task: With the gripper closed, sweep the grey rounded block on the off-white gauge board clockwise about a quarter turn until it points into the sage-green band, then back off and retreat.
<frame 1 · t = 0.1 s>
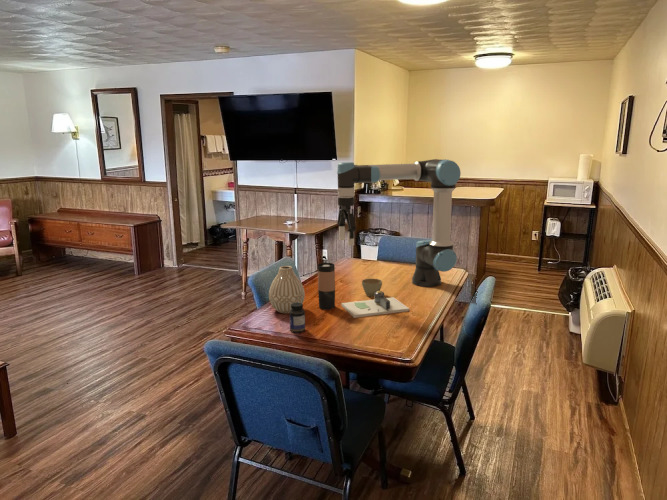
hand: (346, 242, 224), 28 cm above the table, fingers open, 13 cm apart
travel mug: (326, 307, 220), on the table
flower pot: (372, 295, 237), on the table
gauge board: (374, 308, 218), on the table
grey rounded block: (382, 299, 216), point 5 cm above the table, hinge at 90.0°
pill bottle: (297, 330, 193), on the table
vase: (287, 310, 217), on the table
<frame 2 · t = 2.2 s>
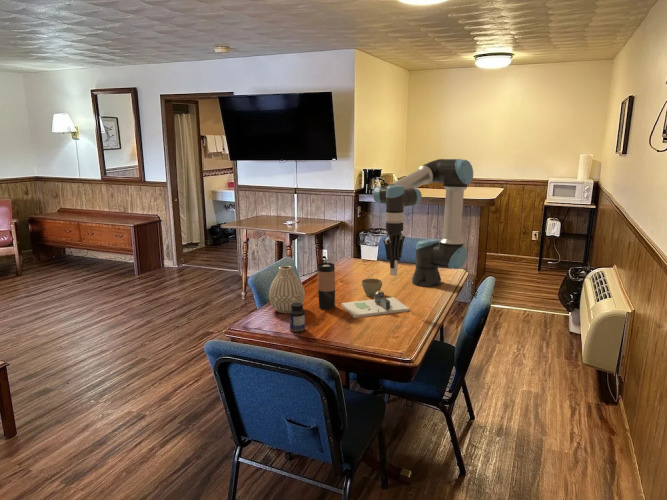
hand: (393, 274, 212), 16 cm above the table, fingers closed
nothing on the table moved.
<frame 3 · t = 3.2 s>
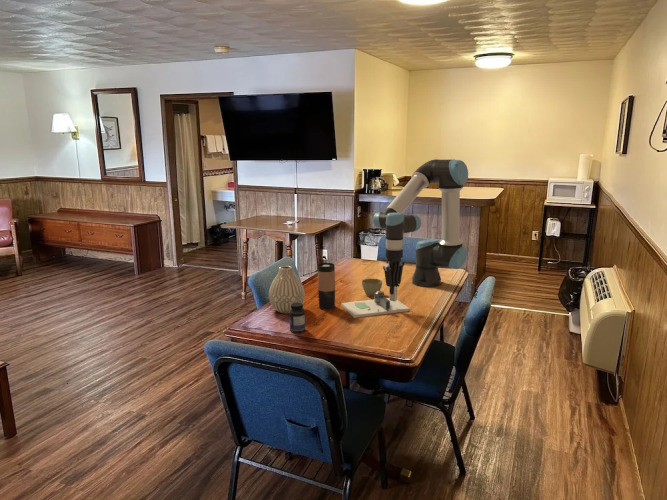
hand: (393, 300, 214), 4 cm above the table, fingers closed
nothing on the table moved.
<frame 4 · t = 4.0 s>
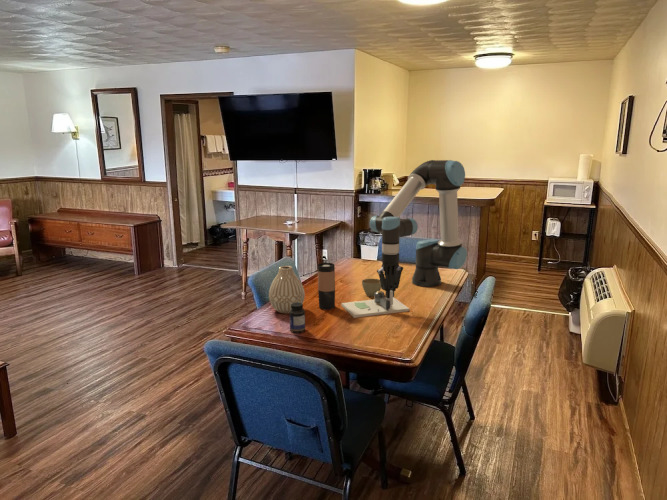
hand: (389, 304, 214), 3 cm above the table, fingers closed
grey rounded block: (382, 299, 216), point 5 cm above the table, hinge at 90.0°, touching gripper
everything else where it was.
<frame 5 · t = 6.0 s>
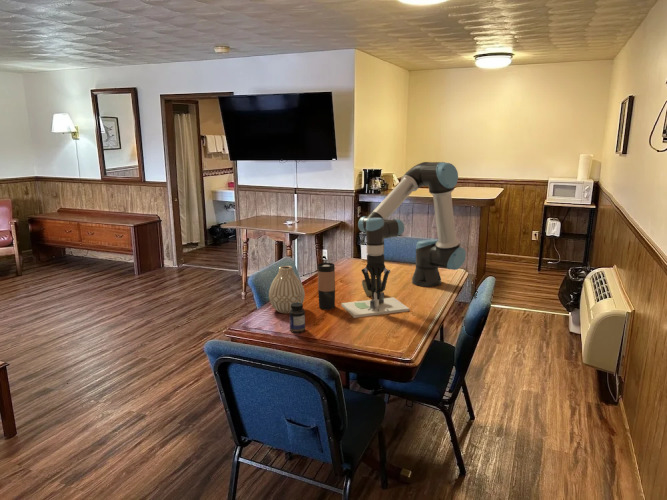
hand: (376, 306, 213), 3 cm above the table, fingers closed
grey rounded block: (376, 299, 216), point 5 cm above the table, hinge at 49.4°, touching gripper
everything else where it was.
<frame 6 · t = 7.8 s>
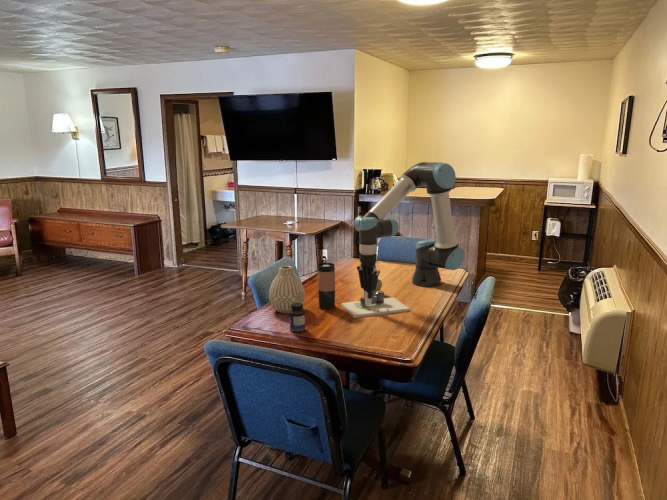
hand: (368, 304, 214), 3 cm above the table, fingers closed
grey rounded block: (372, 298, 218), point 5 cm above the table, hinge at 16.6°
everything else where it was.
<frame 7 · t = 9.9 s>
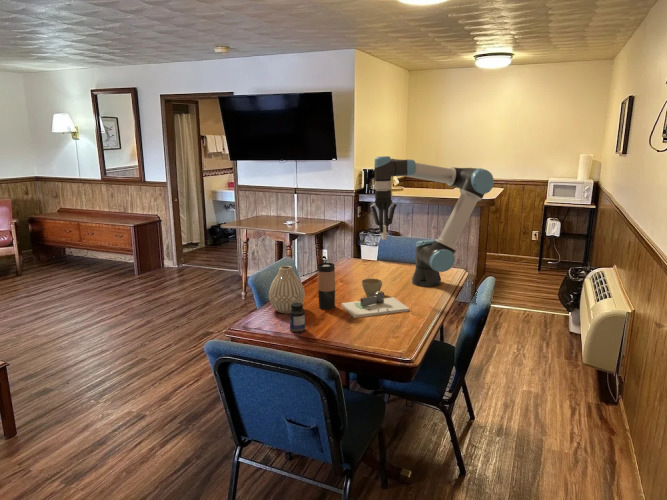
hand: (384, 239, 232), 28 cm above the table, fingers closed
nothing on the table moved.
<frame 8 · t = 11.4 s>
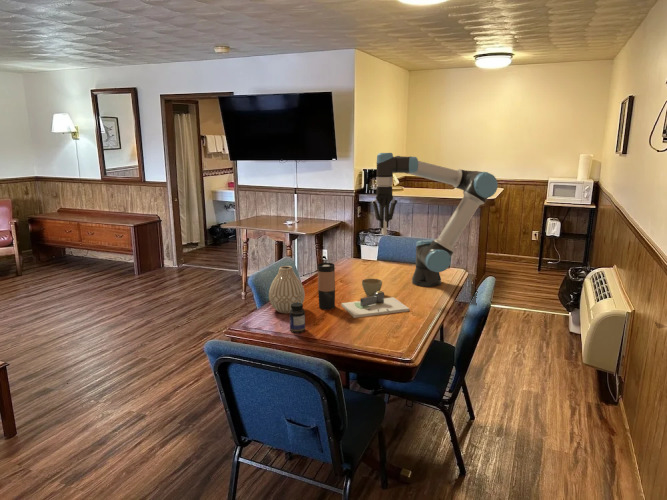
hand: (384, 234, 235), 29 cm above the table, fingers closed
nothing on the table moved.
at the end: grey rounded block at +17° (first picture: +90°) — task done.
